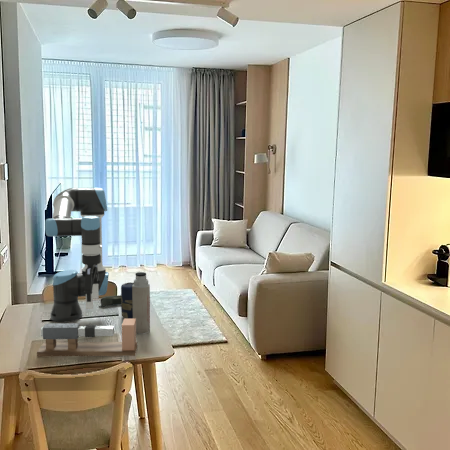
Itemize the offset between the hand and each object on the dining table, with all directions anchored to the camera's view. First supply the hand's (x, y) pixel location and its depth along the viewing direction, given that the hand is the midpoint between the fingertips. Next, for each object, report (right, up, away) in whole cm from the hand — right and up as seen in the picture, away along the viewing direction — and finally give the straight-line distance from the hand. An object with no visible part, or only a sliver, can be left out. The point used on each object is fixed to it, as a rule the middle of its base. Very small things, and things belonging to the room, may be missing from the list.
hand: (92, 303), depth 214 cm
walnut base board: (-2, -21, +3) cm, 21 cm away
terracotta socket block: (+15, -19, +4) cm, 24 cm away
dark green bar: (-6, -11, +63) cm, 64 cm away
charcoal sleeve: (-13, -14, +1) cm, 19 cm away
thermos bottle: (+16, -17, +27) cm, 36 cm away
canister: (+8, -14, +45) cm, 48 cm away
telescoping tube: (-6, -14, +1) cm, 15 cm away
